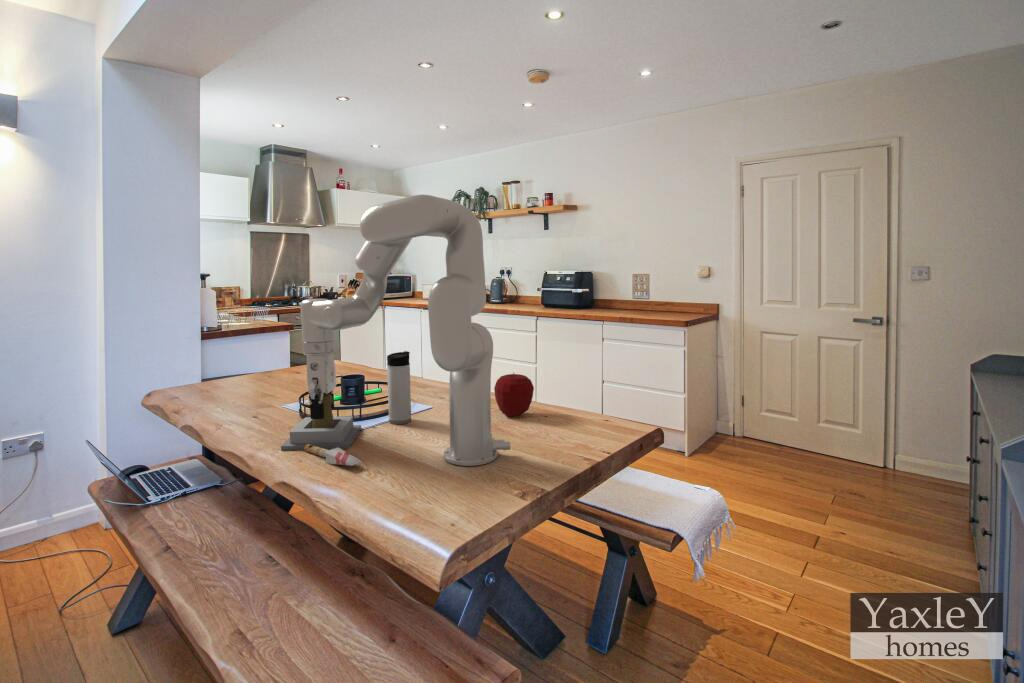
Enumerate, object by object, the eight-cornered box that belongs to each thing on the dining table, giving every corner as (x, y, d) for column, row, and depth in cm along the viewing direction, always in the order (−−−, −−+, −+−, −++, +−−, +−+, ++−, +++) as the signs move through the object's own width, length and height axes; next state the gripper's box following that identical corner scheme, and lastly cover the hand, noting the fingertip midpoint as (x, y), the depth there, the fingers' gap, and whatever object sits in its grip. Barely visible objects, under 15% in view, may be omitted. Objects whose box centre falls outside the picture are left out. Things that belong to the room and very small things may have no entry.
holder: (361, 428, 147) (360, 414, 146) (348, 448, 131) (347, 432, 131) (301, 429, 146) (300, 415, 145) (281, 450, 130) (280, 434, 129)
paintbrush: (349, 459, 116) (300, 444, 128) (350, 471, 116) (301, 455, 129) (364, 454, 119) (314, 440, 131) (364, 466, 119) (315, 450, 131)
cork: (341, 433, 139) (339, 392, 138) (321, 440, 134) (319, 397, 133) (326, 429, 142) (323, 389, 141) (306, 436, 137) (304, 394, 136)
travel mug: (416, 420, 154) (414, 352, 151) (397, 426, 149) (395, 355, 146) (403, 416, 158) (401, 350, 155) (384, 421, 153) (382, 352, 150)
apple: (534, 421, 153) (534, 376, 151) (493, 421, 153) (493, 376, 151) (533, 410, 165) (533, 368, 163) (495, 410, 165) (495, 367, 163)
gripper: (325, 353, 127) (329, 422, 129) (342, 342, 144) (345, 404, 146) (292, 353, 126) (297, 423, 129) (313, 343, 143) (317, 405, 146)
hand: (322, 413), depth 137 cm, fingers open, 9 cm apart
